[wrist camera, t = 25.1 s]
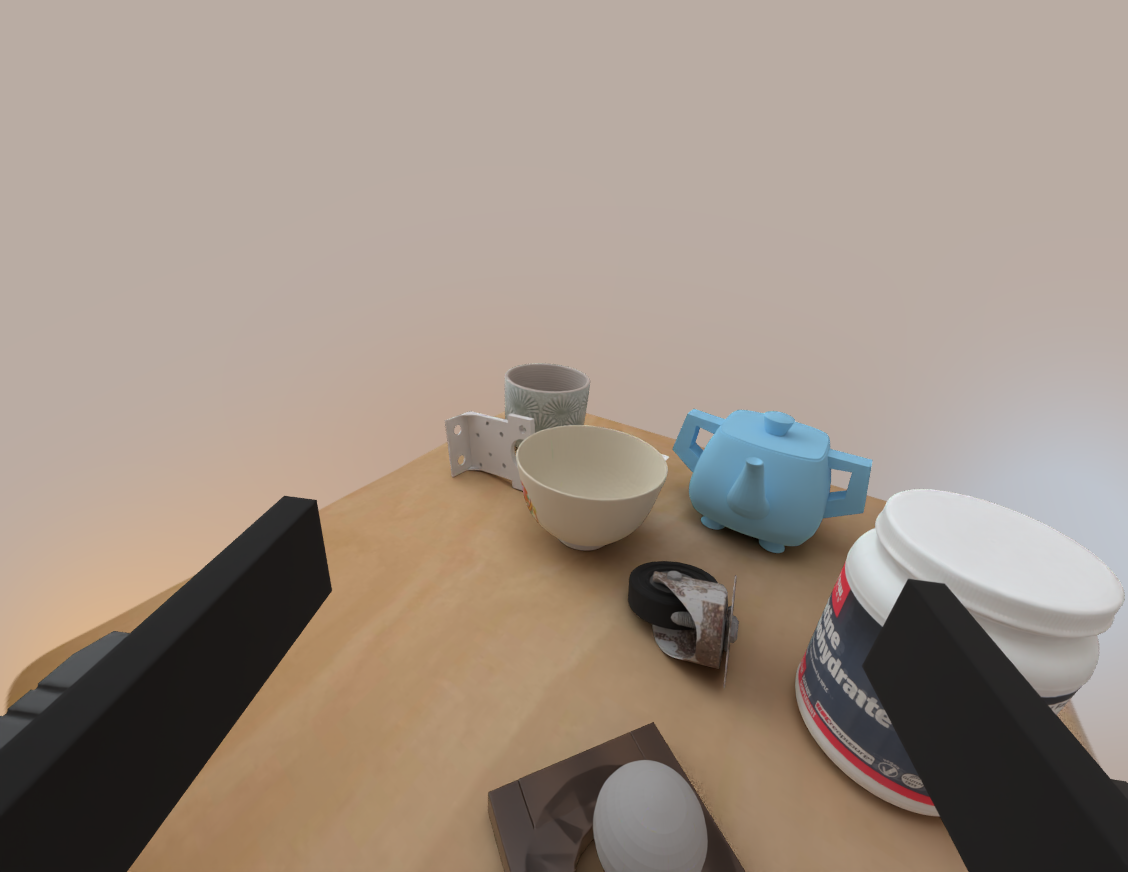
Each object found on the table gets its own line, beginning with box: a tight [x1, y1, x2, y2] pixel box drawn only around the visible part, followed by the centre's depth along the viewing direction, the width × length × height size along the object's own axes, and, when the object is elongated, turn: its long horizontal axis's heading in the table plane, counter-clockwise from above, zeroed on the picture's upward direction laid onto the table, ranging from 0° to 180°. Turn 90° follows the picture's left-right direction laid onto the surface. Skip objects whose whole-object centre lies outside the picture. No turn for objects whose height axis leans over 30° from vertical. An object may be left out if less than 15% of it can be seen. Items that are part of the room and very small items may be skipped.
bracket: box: [445, 411, 535, 491], centre depth 61 cm, size 11×4×10 cm, turn 54°
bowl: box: [516, 425, 668, 551], centre depth 54 cm, size 16×16×10 cm
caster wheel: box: [628, 561, 739, 688], centre depth 44 cm, size 7×11×10 cm
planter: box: [505, 363, 590, 448], centre depth 73 cm, size 12×12×11 cm
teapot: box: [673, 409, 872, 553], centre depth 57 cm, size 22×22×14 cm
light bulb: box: [593, 760, 708, 872], centre depth 25 cm, size 6×6×10 cm
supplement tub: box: [795, 489, 1125, 817], centre depth 33 cm, size 13×13×18 cm
